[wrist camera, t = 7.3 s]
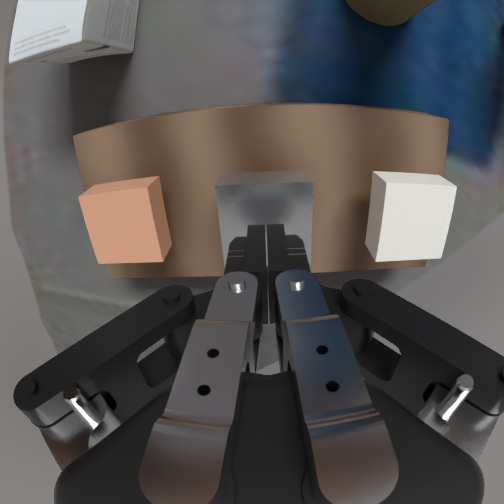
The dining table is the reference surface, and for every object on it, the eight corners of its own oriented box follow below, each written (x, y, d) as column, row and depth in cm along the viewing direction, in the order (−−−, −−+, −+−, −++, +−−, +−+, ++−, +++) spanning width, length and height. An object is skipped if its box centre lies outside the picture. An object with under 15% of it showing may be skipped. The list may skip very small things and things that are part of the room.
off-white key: (438, 175, 14) (456, 186, 12) (426, 241, 16) (440, 258, 15) (372, 171, 14) (386, 182, 13) (365, 243, 17) (375, 261, 15)
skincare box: (69, 64, 16) (5, 67, 10) (77, -2, 13) (19, -17, 7) (136, 53, 16) (81, 43, 10) (145, -17, 13) (99, -51, 7)
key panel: (420, 112, 18) (449, 119, 14) (405, 241, 23) (424, 266, 20) (100, 126, 19) (72, 135, 15) (128, 251, 24) (110, 277, 21)
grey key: (306, 170, 15) (313, 181, 13) (305, 245, 17) (310, 264, 15) (220, 174, 15) (215, 186, 13) (228, 248, 17) (224, 267, 15)
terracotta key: (159, 176, 16) (147, 187, 14) (171, 244, 18) (163, 261, 16) (94, 184, 16) (78, 196, 14) (111, 247, 18) (98, 263, 16)
